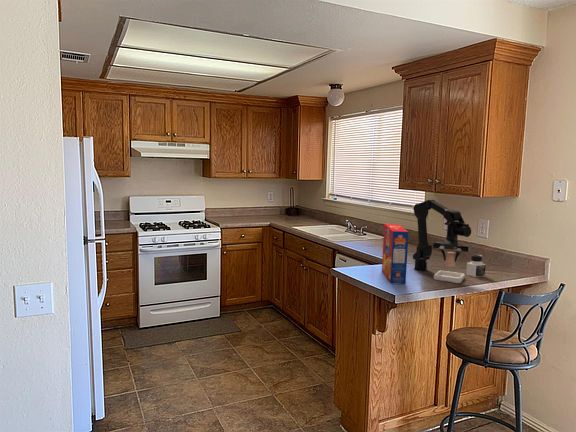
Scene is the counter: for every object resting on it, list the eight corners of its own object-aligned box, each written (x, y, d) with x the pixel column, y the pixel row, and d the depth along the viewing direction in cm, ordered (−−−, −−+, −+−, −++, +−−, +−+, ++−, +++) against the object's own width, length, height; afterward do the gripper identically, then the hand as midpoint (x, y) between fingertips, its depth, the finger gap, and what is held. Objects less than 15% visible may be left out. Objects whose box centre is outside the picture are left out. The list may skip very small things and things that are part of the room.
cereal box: (381, 270, 260) (384, 223, 257) (395, 271, 260) (398, 224, 256) (390, 283, 232) (392, 231, 229) (405, 284, 232) (408, 231, 228)
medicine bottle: (475, 277, 249) (477, 256, 247) (466, 274, 255) (467, 254, 254) (485, 276, 252) (486, 255, 250) (475, 273, 258) (476, 253, 257)
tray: (433, 279, 242) (433, 275, 242) (439, 274, 254) (439, 270, 254) (459, 283, 235) (460, 279, 235) (464, 278, 247) (464, 273, 247)
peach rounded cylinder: (444, 265, 243) (445, 252, 242) (446, 263, 247) (447, 251, 246) (453, 266, 240) (454, 254, 239) (455, 264, 245) (456, 252, 244)
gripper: (431, 234, 240) (429, 262, 242) (467, 237, 230) (465, 267, 232) (436, 231, 249) (434, 258, 251) (471, 235, 239) (469, 263, 241)
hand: (450, 261), depth 244 cm, fingers closed on peach rounded cylinder, 5 cm apart
